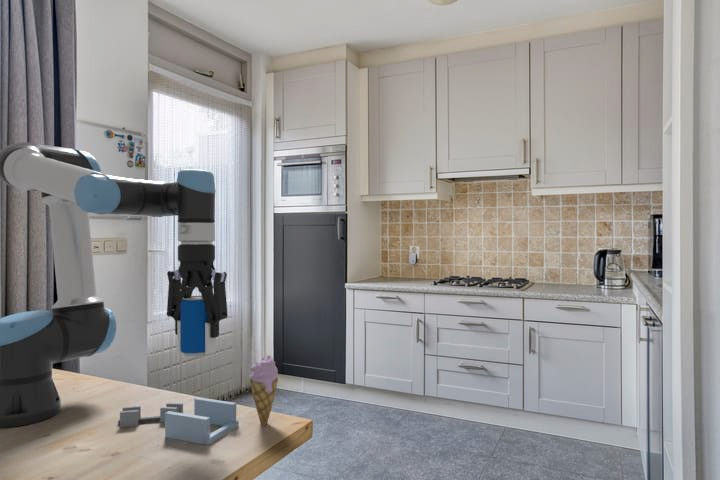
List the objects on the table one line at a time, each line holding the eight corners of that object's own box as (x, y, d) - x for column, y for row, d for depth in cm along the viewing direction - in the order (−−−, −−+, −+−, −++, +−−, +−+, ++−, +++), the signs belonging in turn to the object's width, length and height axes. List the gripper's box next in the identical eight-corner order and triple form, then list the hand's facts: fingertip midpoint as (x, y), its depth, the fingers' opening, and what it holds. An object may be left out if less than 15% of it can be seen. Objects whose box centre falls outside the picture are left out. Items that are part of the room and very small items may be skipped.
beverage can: (202, 358, 101) (202, 299, 100) (174, 356, 102) (174, 298, 102) (218, 350, 107) (218, 295, 107) (191, 349, 108) (191, 295, 108)
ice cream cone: (285, 424, 108) (285, 356, 108) (261, 432, 104) (261, 362, 104) (266, 416, 113) (267, 351, 113) (243, 424, 108) (243, 356, 108)
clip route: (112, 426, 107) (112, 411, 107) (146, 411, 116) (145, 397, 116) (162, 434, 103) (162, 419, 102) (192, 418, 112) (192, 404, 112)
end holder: (165, 437, 101) (165, 413, 101) (197, 419, 111) (197, 397, 111) (208, 445, 98) (208, 420, 98) (238, 425, 107) (238, 403, 107)
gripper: (147, 243, 104) (147, 351, 104) (224, 243, 97) (224, 359, 98) (172, 242, 111) (172, 344, 111) (245, 243, 104) (245, 351, 105)
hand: (196, 351), depth 104 cm, fingers closed on beverage can, 6 cm apart
